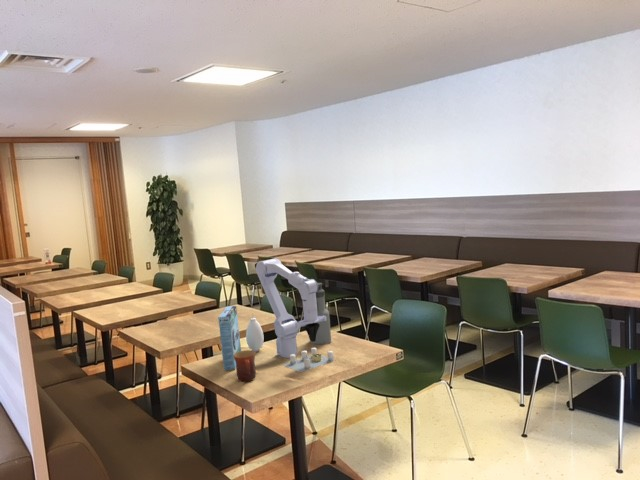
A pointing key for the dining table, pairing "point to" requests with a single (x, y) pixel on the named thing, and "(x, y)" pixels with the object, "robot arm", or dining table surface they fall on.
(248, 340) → the sauce bottle
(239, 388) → the dining table surface
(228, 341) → the blue cereal box
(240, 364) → the mug
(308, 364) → the plate
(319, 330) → the water bottle
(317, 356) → the nut
